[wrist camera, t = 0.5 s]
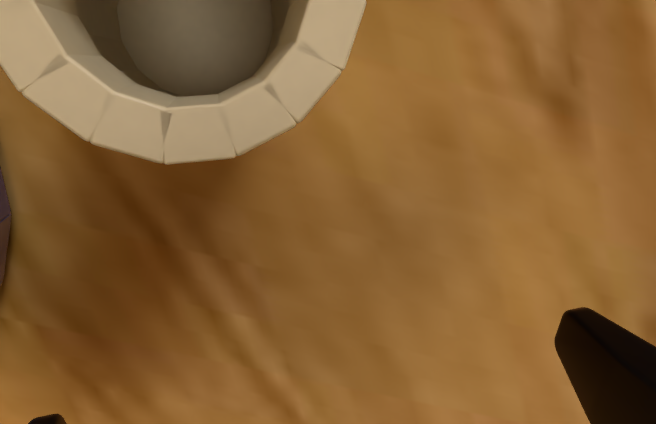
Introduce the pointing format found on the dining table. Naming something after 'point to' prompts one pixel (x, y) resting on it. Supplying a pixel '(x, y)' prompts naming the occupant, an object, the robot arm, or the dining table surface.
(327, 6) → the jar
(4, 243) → the bowl
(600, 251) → the dining table surface
